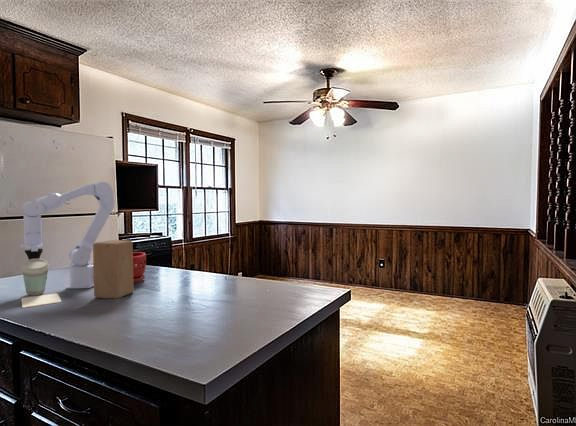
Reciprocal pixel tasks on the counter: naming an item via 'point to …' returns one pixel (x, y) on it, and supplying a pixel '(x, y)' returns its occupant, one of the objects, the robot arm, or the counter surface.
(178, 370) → the counter surface
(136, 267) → the plant pot
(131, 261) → the wooden block
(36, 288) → the coffee cup
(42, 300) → the mat
